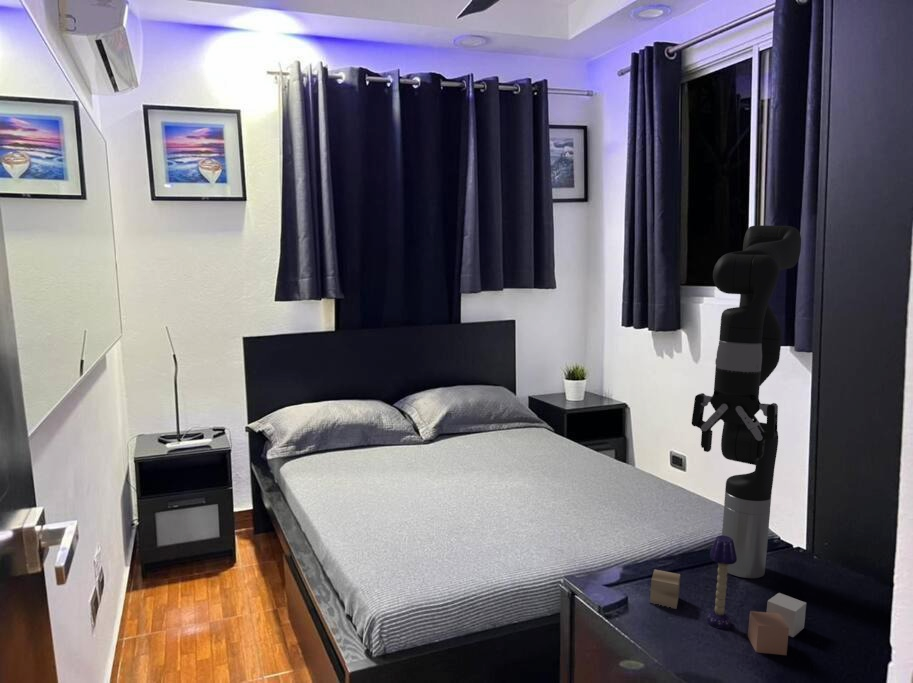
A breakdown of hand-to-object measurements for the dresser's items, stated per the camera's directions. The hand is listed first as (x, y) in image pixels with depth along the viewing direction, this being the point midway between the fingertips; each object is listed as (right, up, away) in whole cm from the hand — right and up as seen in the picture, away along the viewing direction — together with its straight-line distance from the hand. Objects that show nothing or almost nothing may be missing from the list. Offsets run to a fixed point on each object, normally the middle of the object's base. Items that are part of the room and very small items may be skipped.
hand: (730, 455), depth 124 cm
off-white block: (+11, -33, +3) cm, 35 cm away
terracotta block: (+5, -33, -3) cm, 34 cm away
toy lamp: (-1, -32, +4) cm, 32 cm away
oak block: (-8, -31, +12) cm, 34 cm away
